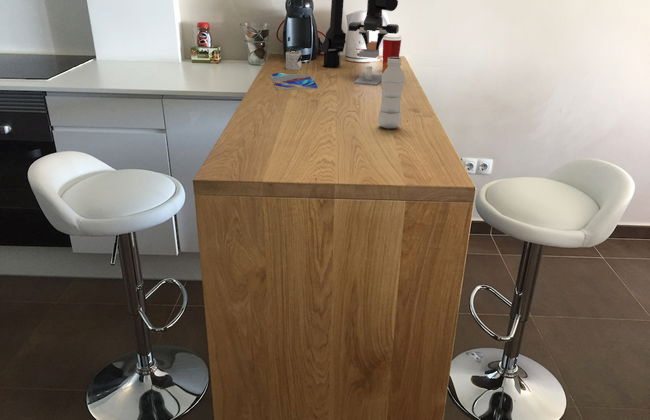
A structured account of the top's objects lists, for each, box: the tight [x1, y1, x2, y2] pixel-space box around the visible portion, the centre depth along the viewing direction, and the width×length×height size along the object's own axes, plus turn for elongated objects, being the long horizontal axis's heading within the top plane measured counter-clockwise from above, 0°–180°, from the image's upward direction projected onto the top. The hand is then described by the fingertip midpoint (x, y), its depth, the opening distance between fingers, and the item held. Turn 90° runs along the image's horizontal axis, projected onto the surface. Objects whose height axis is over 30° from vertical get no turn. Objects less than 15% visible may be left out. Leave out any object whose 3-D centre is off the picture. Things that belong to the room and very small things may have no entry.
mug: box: [285, 51, 302, 71], centre depth 244 cm, size 10×7×7 cm
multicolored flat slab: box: [270, 72, 319, 90], centre depth 220 cm, size 25×15×2 cm, turn 10°
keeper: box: [353, 66, 382, 87], centre depth 226 cm, size 9×18×6 cm, turn 164°
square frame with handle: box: [358, 40, 380, 59], centre depth 222 cm, size 14×6×4 cm, turn 164°
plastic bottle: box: [377, 57, 406, 129], centre depth 164 cm, size 6×7×20 cm
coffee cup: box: [382, 33, 403, 73], centre depth 240 cm, size 8×8×15 cm
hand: (372, 50), depth 224 cm, fingers closed on square frame with handle, 3 cm apart
